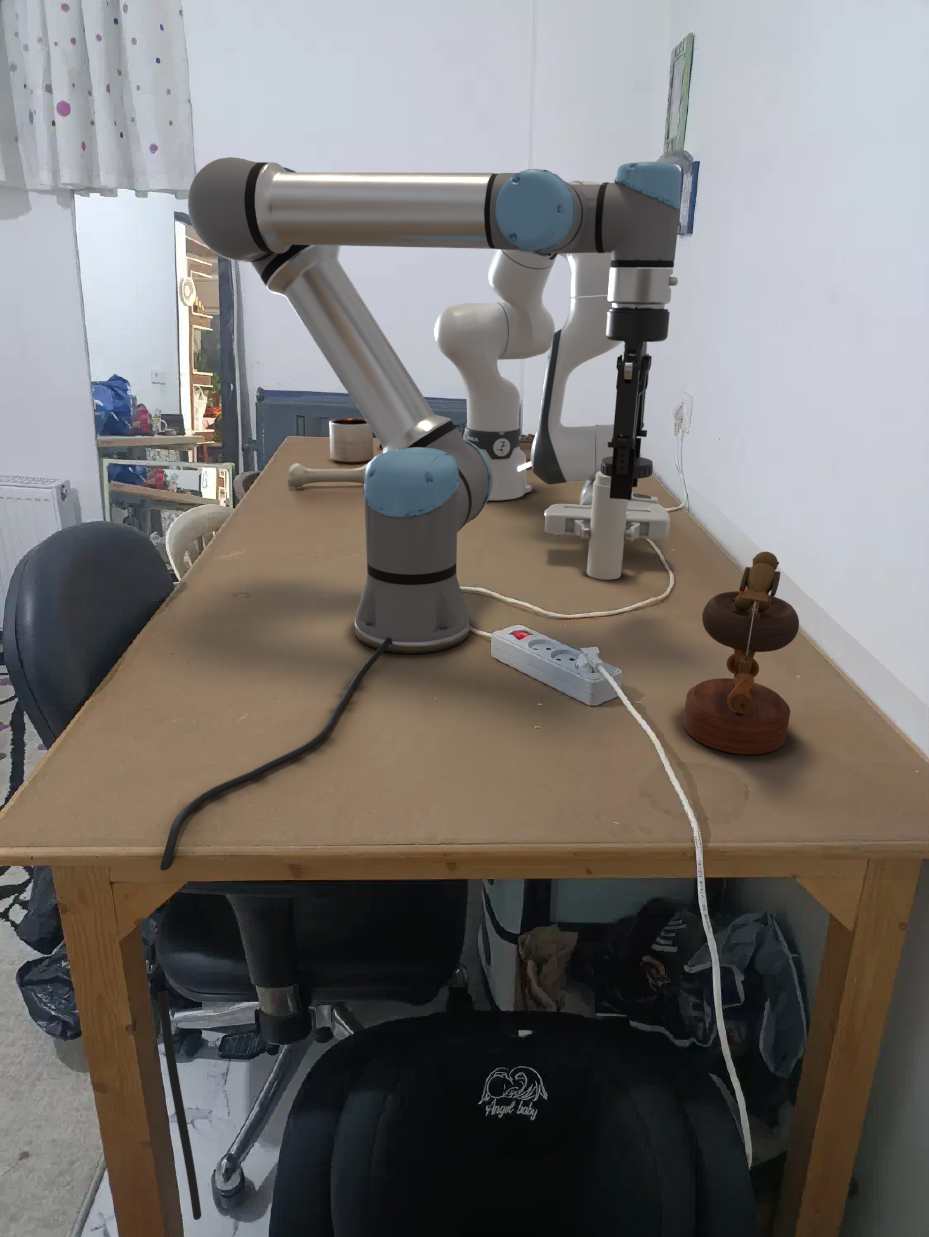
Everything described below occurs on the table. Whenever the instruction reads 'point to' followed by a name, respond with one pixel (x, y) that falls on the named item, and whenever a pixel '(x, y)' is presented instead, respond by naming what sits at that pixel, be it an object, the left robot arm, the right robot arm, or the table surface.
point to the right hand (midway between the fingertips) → (607, 535)
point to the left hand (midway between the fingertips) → (623, 491)
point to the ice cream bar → (526, 445)
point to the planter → (351, 440)
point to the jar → (606, 531)
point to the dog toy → (324, 475)
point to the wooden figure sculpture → (744, 666)
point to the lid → (641, 467)
